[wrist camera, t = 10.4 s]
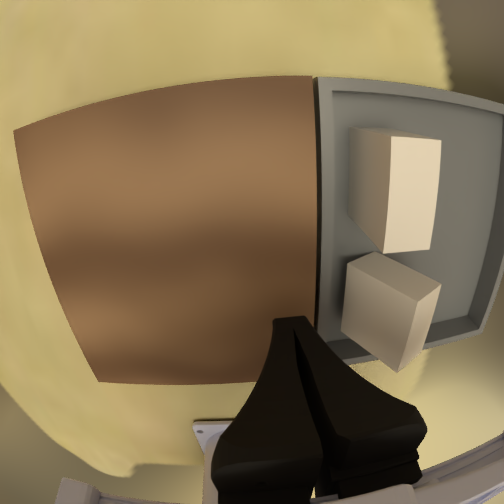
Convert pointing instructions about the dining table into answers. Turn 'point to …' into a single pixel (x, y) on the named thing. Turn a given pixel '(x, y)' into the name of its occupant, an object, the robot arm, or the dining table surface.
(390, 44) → the dining table surface
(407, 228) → the tile
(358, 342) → the tile
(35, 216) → the plate
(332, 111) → the tray
